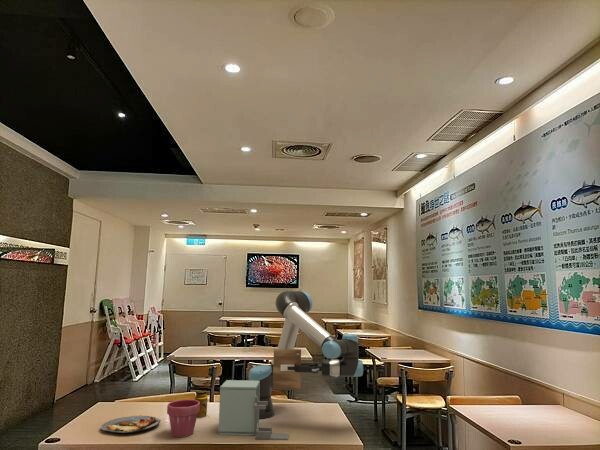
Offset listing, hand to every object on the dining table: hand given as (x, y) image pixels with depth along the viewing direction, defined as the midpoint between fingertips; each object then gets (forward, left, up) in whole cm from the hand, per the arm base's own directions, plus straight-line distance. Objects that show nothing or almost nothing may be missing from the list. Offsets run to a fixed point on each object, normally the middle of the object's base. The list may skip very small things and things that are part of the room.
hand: (281, 366), depth 199 cm
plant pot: (+13, -42, -27) cm, 52 cm away
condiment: (-13, -42, -27) cm, 52 cm away
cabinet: (+9, -11, -27) cm, 30 cm away
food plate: (+6, -68, -27) cm, 74 cm away
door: (0, +3, -10) cm, 10 cm away
